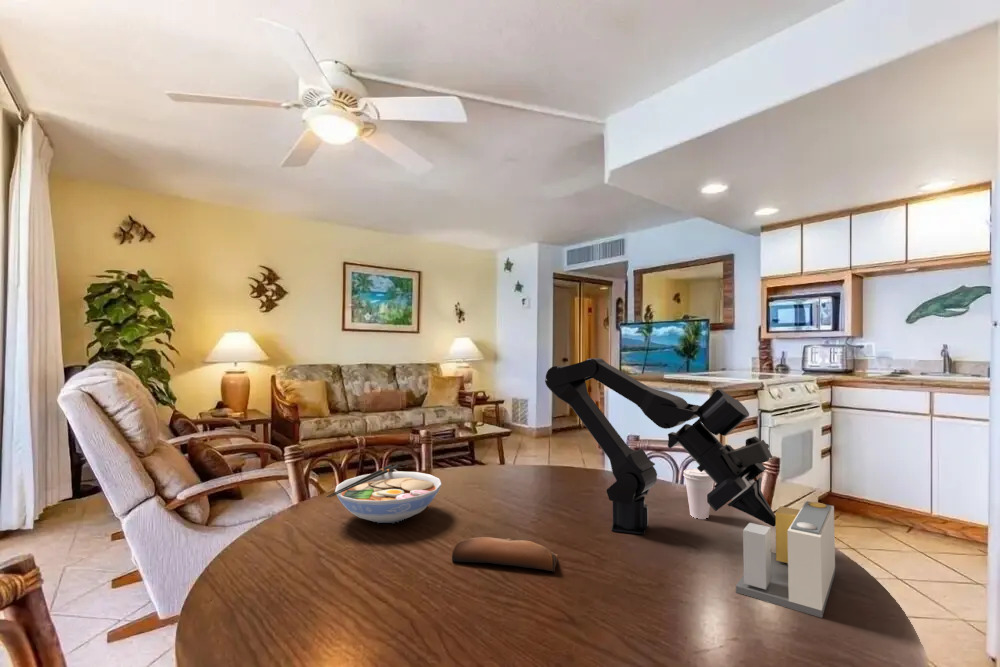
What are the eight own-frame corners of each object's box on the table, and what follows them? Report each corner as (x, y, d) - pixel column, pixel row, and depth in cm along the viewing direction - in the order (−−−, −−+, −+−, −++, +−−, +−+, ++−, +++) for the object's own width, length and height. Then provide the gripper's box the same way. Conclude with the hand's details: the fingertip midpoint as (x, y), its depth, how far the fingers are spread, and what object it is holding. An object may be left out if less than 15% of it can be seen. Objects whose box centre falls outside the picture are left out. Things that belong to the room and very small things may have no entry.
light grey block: (743, 583, 74) (743, 530, 74) (750, 573, 77) (749, 522, 78) (765, 589, 72) (765, 534, 73) (771, 579, 75) (770, 527, 76)
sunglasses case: (560, 553, 89) (557, 528, 86) (556, 589, 83) (553, 563, 80) (466, 544, 93) (460, 519, 90) (455, 577, 87) (448, 553, 84)
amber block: (776, 560, 82) (775, 512, 82) (780, 552, 85) (780, 506, 85) (796, 565, 80) (796, 516, 80) (800, 557, 83) (800, 509, 84)
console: (736, 592, 75) (734, 516, 75) (761, 555, 88) (759, 490, 88) (822, 617, 68) (820, 533, 68) (835, 573, 81) (833, 502, 81)
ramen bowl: (405, 547, 92) (405, 503, 92) (306, 532, 99) (306, 491, 100) (460, 506, 115) (460, 471, 115) (377, 496, 123) (377, 463, 123)
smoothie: (718, 522, 104) (717, 456, 104) (686, 520, 105) (685, 454, 105) (711, 512, 110) (710, 449, 110) (681, 510, 111) (680, 448, 112)
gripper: (725, 430, 81) (805, 512, 73) (752, 417, 95) (821, 484, 88) (678, 471, 85) (749, 552, 78) (711, 453, 100) (773, 519, 93)
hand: (776, 524), depth 84 cm, fingers closed, pressing on amber block
